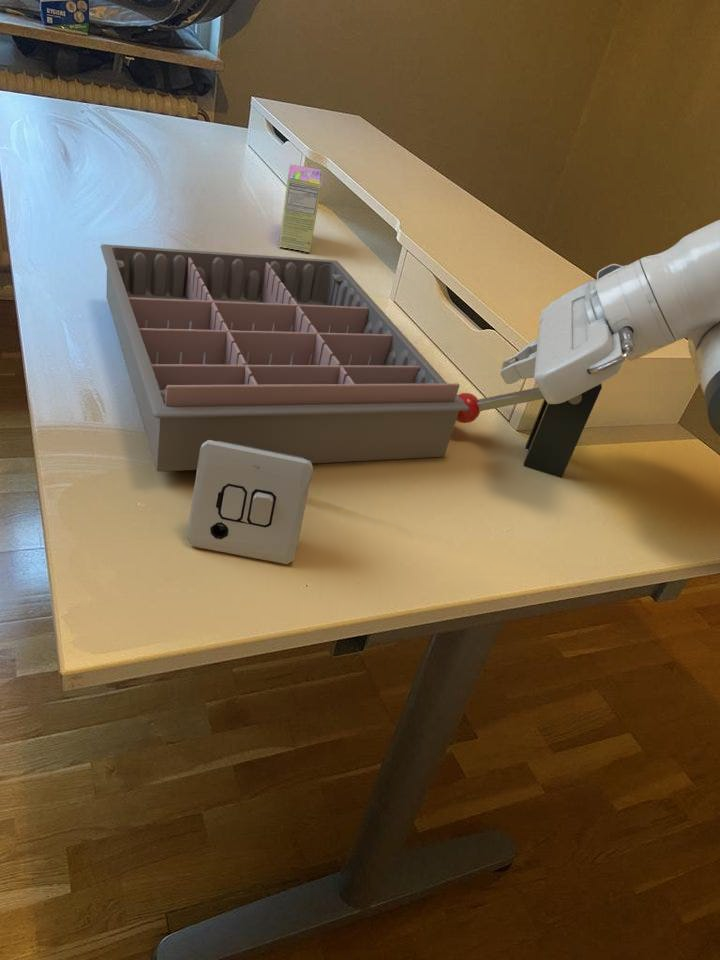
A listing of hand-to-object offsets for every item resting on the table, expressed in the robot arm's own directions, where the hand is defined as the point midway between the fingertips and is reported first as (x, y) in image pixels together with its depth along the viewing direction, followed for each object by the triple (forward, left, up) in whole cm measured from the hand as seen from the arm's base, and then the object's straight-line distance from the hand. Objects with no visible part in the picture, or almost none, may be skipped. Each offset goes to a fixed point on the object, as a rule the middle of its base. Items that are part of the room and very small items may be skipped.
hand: (503, 373), depth 80 cm
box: (+39, -53, -10) cm, 67 cm away
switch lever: (-3, 0, -4) cm, 5 cm away
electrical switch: (+18, +27, -10) cm, 34 cm away
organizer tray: (+27, -1, -10) cm, 29 cm away
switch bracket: (-8, 0, -10) cm, 13 cm away
